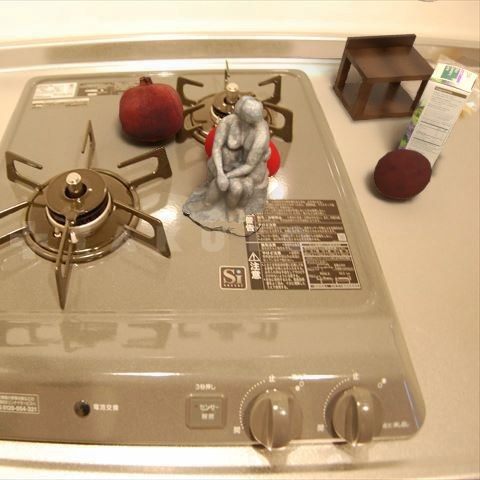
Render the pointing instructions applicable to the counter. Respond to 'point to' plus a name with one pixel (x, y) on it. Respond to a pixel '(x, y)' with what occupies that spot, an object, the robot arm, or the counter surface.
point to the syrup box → (438, 110)
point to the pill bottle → (428, 0)
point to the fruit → (150, 111)
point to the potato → (402, 174)
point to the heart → (272, 162)
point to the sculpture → (234, 169)
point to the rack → (381, 76)
